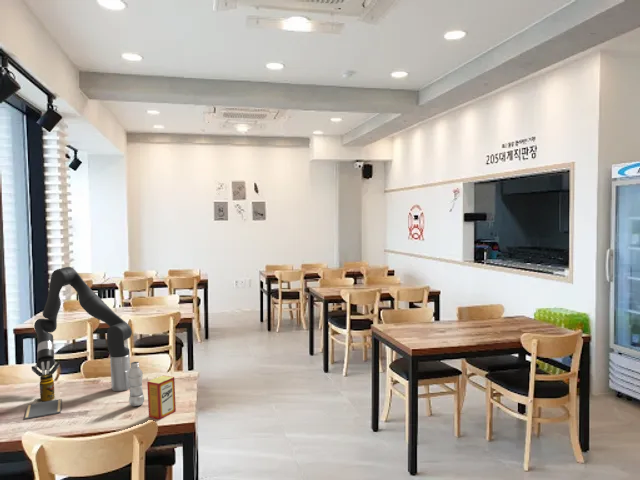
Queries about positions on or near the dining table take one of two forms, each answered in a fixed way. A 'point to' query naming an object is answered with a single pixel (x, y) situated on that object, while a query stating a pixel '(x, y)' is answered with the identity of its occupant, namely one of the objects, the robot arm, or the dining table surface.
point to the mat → (43, 409)
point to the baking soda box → (161, 397)
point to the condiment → (46, 389)
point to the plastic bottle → (135, 385)
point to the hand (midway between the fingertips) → (45, 382)
